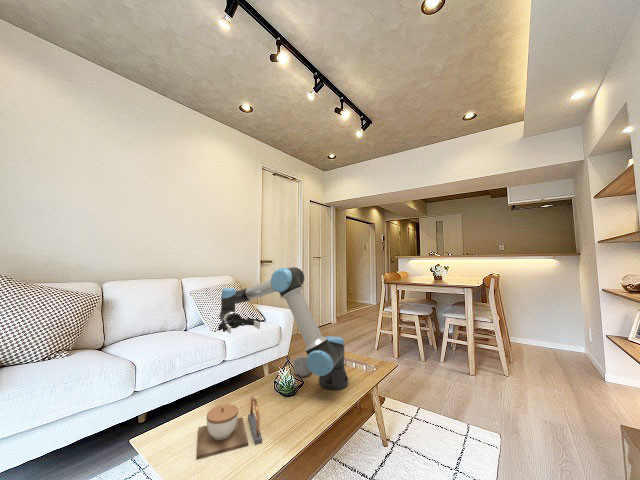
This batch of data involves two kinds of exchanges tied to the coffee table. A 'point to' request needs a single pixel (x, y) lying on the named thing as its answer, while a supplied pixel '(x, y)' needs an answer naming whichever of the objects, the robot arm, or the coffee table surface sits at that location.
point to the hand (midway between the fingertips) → (245, 328)
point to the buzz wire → (256, 413)
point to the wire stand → (254, 428)
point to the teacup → (301, 366)
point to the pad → (221, 441)
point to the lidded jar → (222, 421)
